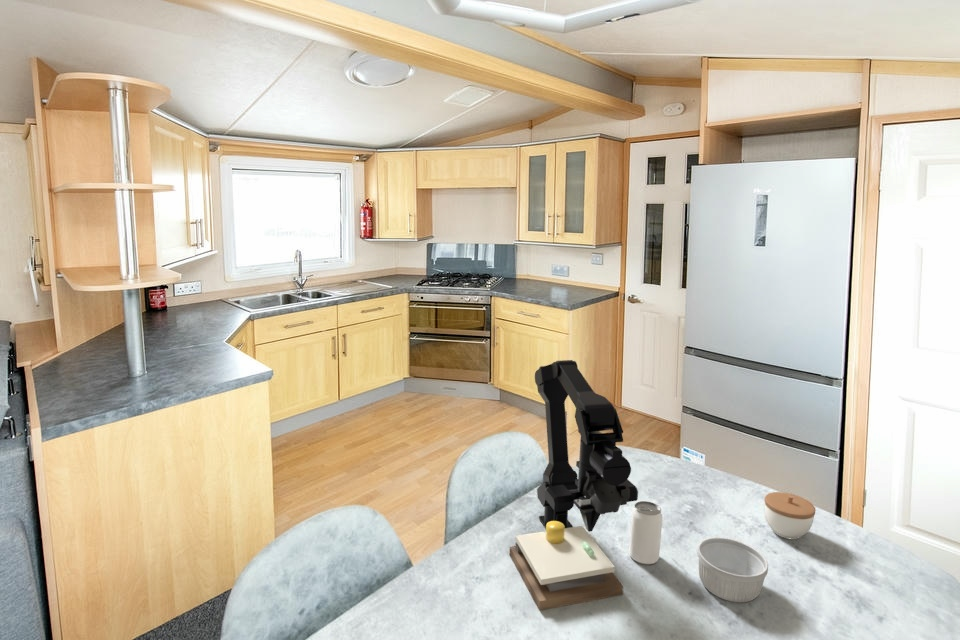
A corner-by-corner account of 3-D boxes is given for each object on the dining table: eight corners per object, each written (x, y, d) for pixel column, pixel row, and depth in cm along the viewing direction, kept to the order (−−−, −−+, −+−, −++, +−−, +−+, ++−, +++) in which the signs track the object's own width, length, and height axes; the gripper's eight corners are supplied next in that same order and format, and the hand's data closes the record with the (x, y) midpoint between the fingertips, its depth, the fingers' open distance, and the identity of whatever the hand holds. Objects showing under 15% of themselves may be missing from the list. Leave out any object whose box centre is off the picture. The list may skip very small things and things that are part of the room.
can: (660, 567, 121) (664, 517, 119) (629, 563, 122) (633, 513, 120) (657, 549, 127) (661, 501, 125) (627, 546, 128) (631, 498, 126)
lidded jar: (798, 521, 140) (803, 487, 138) (819, 546, 129) (825, 510, 128) (754, 518, 141) (758, 484, 139) (771, 543, 130) (776, 506, 129)
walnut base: (509, 554, 125) (509, 539, 124) (582, 543, 129) (583, 528, 129) (539, 610, 108) (539, 593, 107) (622, 594, 112) (623, 578, 112)
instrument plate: (515, 540, 123) (516, 523, 122) (581, 530, 127) (582, 513, 126) (540, 585, 109) (541, 566, 108) (614, 571, 113) (615, 553, 112)
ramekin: (759, 573, 120) (763, 544, 118) (769, 615, 108) (773, 583, 106) (694, 560, 124) (696, 531, 123) (695, 598, 112) (699, 567, 110)
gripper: (568, 485, 104) (564, 560, 107) (656, 474, 109) (649, 546, 112) (545, 459, 114) (542, 528, 117) (626, 450, 119) (621, 516, 122)
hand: (589, 530), depth 117 cm, fingers closed
